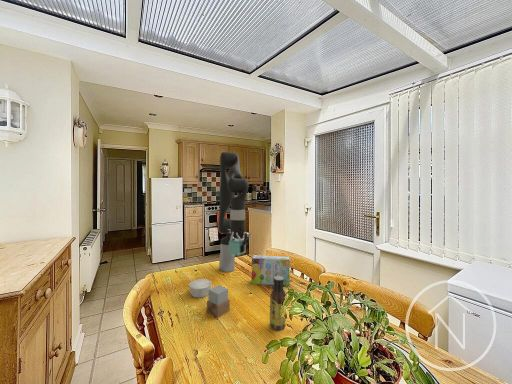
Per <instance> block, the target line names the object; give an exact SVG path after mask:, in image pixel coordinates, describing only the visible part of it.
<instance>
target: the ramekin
mask: <svg viewBox="0 0 512 384" xmlns="http://www.w3.org/2000/svg"><path fill="white" fill-rule="evenodd" d="M212 284H213V283H212V281H211V280H210V279H206V278H198V279H194V280H192V281H190V283H189V285H188V287H189V291H190V295H191V296H192V297H193V298H205V297H208V296H209V289H211V287H212Z"/></svg>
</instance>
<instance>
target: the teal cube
mask: <svg viewBox="0 0 512 384" xmlns="http://www.w3.org/2000/svg"><path fill="white" fill-rule="evenodd" d="M240 247H241V244H240V241H239V240H238V239H237V238H236V239H235V240H232V241H229V253H230V254H234V255H235V256H241V255H243V254H245V253H247V252H246V251H247V250H246V247H247V244H246V245H245V251H244V252H243V253H241V252H240Z"/></svg>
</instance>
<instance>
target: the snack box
mask: <svg viewBox="0 0 512 384" xmlns="http://www.w3.org/2000/svg"><path fill="white" fill-rule="evenodd" d="M290 269H291V258H290V256H277V255H275V256H273V255H254V254H253V255H252V257H251V284H252V285H265V286H267V285H268V286H274V281H273V279H274V277H275V276H282V277H283V278H284V282H283V285H284V286H283V287H290V275H291V274H290V272H291V271H290Z"/></svg>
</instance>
